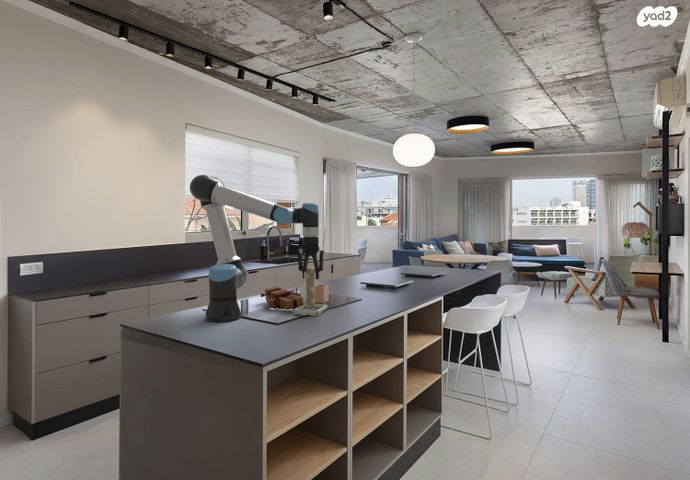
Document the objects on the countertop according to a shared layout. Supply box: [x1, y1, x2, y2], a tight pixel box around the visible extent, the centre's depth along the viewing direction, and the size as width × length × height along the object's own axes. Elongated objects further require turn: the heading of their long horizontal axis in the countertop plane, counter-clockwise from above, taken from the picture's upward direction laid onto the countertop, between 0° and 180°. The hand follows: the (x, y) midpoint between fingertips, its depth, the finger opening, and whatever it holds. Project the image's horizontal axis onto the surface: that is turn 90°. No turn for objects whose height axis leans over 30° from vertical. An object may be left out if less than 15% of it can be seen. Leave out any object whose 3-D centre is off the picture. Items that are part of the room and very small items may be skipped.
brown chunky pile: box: [260, 285, 305, 311], centre depth 213 cm, size 17×9×30 cm
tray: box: [292, 303, 329, 317], centre depth 201 cm, size 12×14×2 cm
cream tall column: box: [306, 267, 316, 308], centre depth 200 cm, size 4×4×18 cm
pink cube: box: [315, 284, 330, 304], centre depth 221 cm, size 8×8×9 cm
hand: (310, 285), depth 200 cm, fingers closed on cream tall column, 4 cm apart
